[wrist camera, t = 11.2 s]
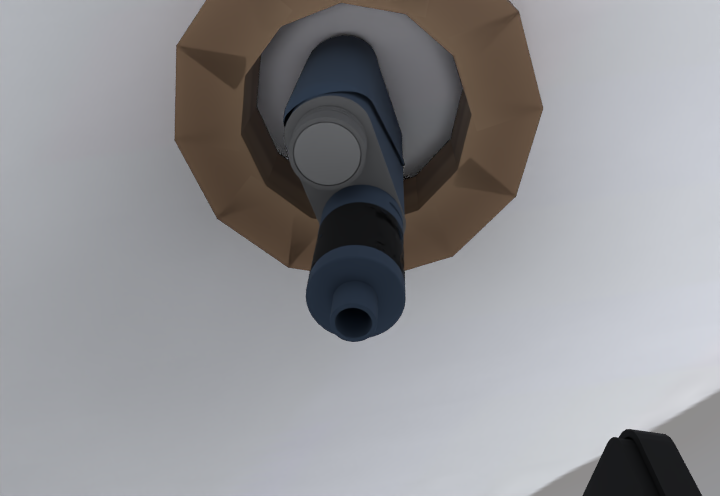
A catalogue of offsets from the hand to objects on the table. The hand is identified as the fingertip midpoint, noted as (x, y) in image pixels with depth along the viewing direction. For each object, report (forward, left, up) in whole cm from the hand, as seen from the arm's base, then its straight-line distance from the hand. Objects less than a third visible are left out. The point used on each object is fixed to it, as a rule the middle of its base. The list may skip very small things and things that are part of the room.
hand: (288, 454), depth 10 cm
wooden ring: (0, 0, -17) cm, 17 cm away
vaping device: (0, 0, -17) cm, 17 cm away
